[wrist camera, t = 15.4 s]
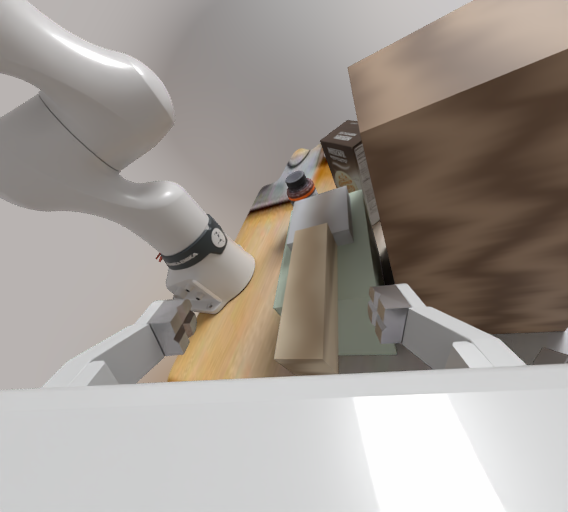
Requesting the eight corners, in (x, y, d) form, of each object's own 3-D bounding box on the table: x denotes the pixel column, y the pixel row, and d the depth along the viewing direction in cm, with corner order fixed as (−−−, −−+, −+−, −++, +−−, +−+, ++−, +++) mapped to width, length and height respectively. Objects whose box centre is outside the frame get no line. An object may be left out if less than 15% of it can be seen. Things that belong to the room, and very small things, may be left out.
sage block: (318, 355, 32) (273, 308, 23) (322, 266, 42) (291, 210, 34) (397, 354, 28) (377, 295, 19) (379, 255, 38) (361, 189, 30)
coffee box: (342, 210, 50) (317, 140, 40) (365, 193, 51) (346, 119, 40) (372, 226, 43) (350, 146, 33) (398, 207, 44) (385, 121, 33)
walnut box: (407, 337, 29) (360, 133, 12) (387, 245, 39) (347, 67, 22) (564, 331, 23) (893, -84, 6) (492, 224, 33) (542, -37, 17)
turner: (275, 374, 19) (252, 359, 17) (300, 213, 32) (289, 192, 30) (363, 376, 16) (350, 358, 14) (350, 198, 30) (342, 174, 27)
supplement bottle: (297, 224, 55) (275, 184, 47) (312, 207, 56) (293, 166, 49) (315, 229, 50) (294, 186, 43) (331, 211, 52) (313, 167, 45)
